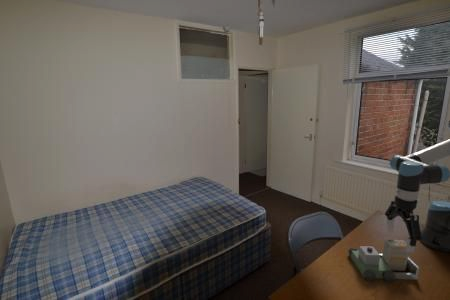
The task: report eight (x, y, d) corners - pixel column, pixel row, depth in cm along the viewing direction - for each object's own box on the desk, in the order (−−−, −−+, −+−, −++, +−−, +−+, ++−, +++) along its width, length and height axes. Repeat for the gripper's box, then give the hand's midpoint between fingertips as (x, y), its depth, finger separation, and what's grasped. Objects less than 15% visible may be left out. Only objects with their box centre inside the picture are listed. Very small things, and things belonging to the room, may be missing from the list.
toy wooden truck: (373, 255, 114) (376, 238, 112) (394, 281, 99) (398, 261, 96) (347, 255, 115) (350, 237, 113) (364, 280, 100) (367, 260, 97)
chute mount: (397, 258, 112) (399, 248, 111) (417, 279, 99) (419, 268, 98) (373, 258, 113) (375, 247, 111) (390, 278, 100) (392, 267, 99)
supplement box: (399, 264, 108) (404, 240, 105) (405, 272, 104) (410, 246, 100) (380, 262, 109) (384, 238, 106) (385, 270, 105) (390, 245, 102)
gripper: (379, 186, 110) (374, 225, 115) (418, 212, 86) (409, 260, 91) (396, 185, 109) (390, 225, 115) (440, 212, 85) (430, 261, 90)
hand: (398, 241), depth 103 cm, fingers open, 13 cm apart
